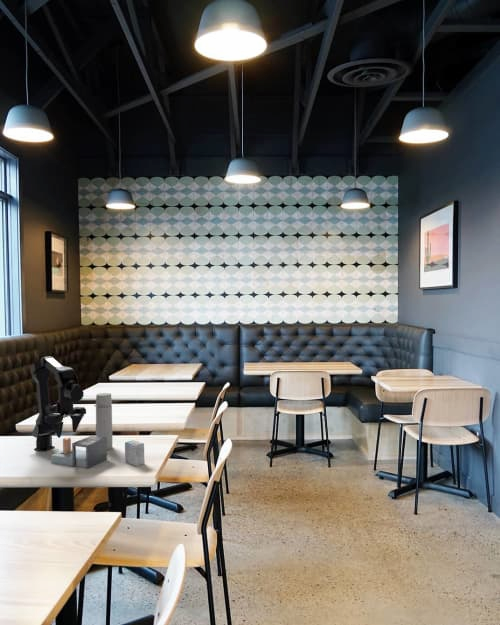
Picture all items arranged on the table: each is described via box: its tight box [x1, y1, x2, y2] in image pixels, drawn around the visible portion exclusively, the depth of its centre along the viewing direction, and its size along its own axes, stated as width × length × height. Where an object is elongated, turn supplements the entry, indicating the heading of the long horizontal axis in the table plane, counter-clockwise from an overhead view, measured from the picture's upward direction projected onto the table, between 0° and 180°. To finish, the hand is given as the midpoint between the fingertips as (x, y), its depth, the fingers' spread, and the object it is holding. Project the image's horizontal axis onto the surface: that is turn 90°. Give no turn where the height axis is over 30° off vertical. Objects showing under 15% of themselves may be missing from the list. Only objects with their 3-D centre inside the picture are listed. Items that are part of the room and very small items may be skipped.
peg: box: [62, 437, 72, 455], centre depth 211 cm, size 3×3×9 cm
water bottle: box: [94, 392, 113, 451], centre depth 227 cm, size 9×8×25 cm
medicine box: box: [124, 439, 145, 467], centre depth 206 cm, size 8×4×9 cm, turn 47°
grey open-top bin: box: [71, 435, 108, 469], centre depth 207 cm, size 12×8×10 cm, turn 159°
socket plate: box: [50, 448, 86, 468], centre depth 209 cm, size 10×19×3 cm, turn 69°
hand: (66, 434), depth 211 cm, fingers open, 9 cm apart
